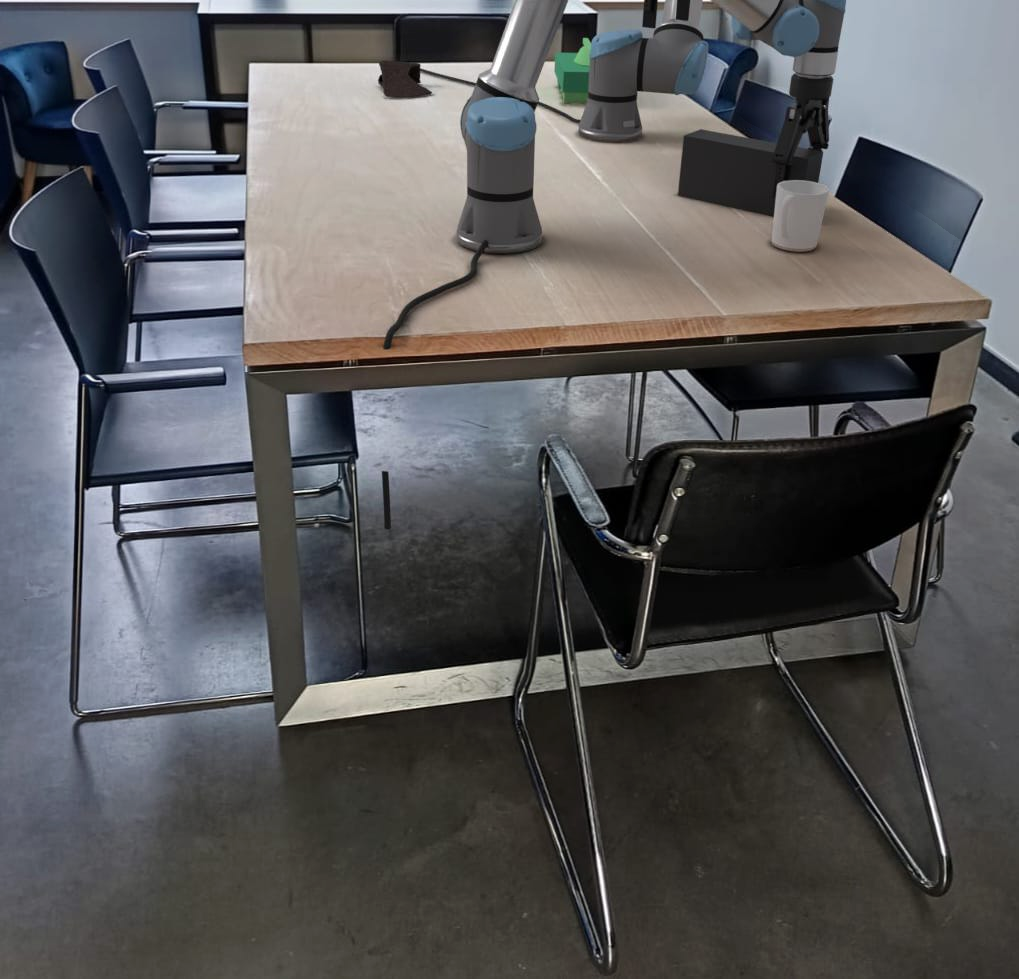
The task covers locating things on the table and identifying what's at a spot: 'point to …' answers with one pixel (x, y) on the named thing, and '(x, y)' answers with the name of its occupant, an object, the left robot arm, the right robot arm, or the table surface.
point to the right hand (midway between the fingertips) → (665, 23)
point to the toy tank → (574, 74)
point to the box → (738, 170)
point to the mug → (798, 215)
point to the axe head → (401, 79)
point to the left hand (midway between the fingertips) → (795, 190)
